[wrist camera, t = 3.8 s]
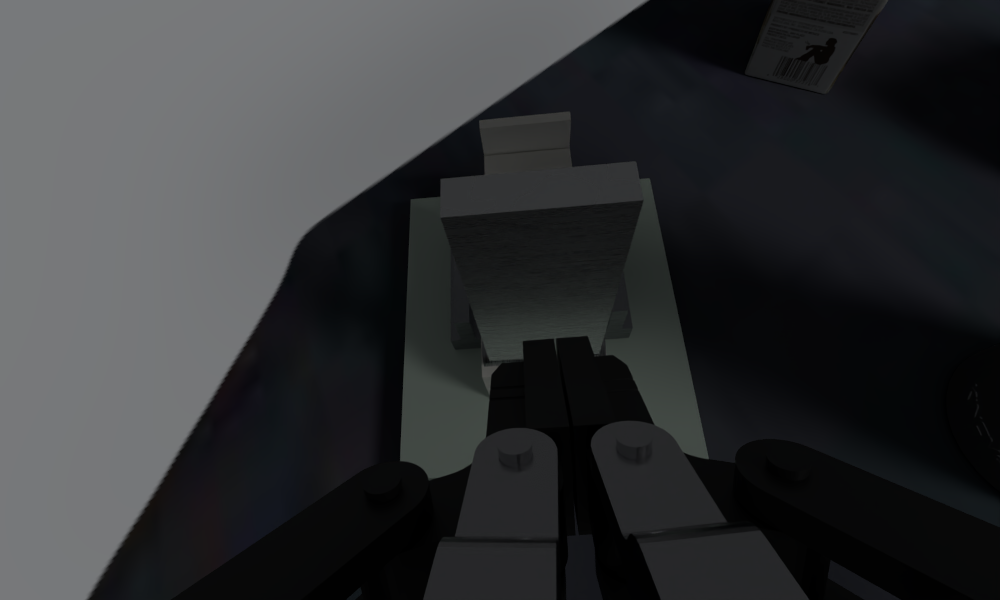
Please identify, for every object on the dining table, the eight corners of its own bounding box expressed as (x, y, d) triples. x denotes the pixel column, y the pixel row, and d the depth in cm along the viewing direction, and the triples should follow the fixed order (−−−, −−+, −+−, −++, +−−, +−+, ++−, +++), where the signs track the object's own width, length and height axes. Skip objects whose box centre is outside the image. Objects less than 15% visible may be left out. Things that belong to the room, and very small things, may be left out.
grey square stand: (644, 196, 35) (671, 101, 27) (698, 467, 27) (758, 442, 19) (417, 216, 36) (382, 129, 28) (408, 482, 28) (356, 464, 20)
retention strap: (600, 335, 24) (647, 157, 13) (603, 362, 24) (657, 202, 12) (484, 343, 24) (429, 177, 13) (485, 370, 24) (428, 221, 12)
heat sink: (609, 220, 32) (617, 180, 28) (628, 337, 28) (640, 309, 25) (454, 233, 32) (443, 195, 29) (455, 349, 29) (441, 323, 25)
